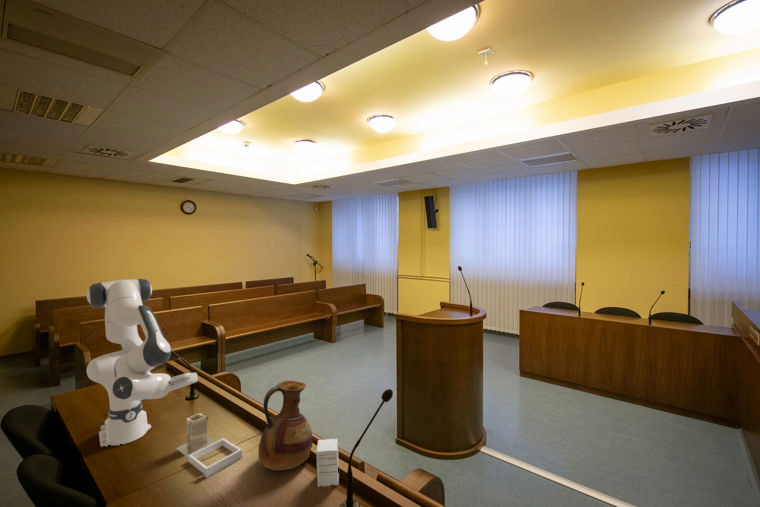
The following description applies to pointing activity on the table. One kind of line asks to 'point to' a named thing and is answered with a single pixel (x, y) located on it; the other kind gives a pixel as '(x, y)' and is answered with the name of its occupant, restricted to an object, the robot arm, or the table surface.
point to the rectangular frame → (219, 464)
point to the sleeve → (196, 431)
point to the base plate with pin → (187, 451)
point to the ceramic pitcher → (285, 431)
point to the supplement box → (327, 462)
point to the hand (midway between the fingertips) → (183, 384)
